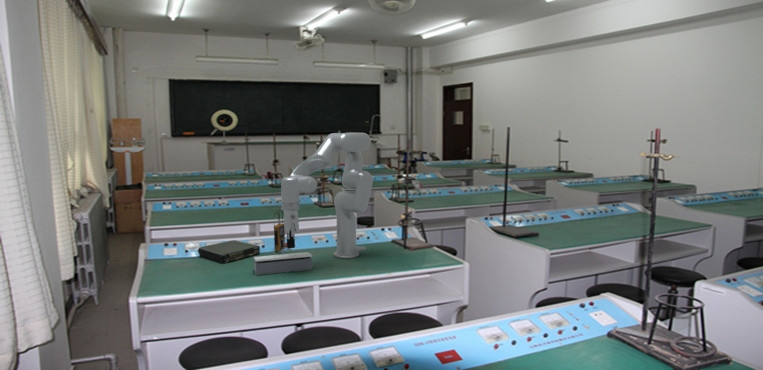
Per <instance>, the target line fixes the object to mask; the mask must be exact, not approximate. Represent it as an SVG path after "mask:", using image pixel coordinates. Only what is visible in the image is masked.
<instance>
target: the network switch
mask: <svg viewBox="0 0 763 370" xmlns="http://www.w3.org/2000/svg"><path fill="white" fill-rule="evenodd" d="M260 254H261V248H260V245H257V244H252V243H248V242H245V241H239V240H236V239H234V240H227V241H223V242H218V243H213V244H207V245H204V246H200V247H199V248H198V255H199V256H200V257H201V258H205V259H209V260H211V261H214V262H217V263H220V264H226V263H229V262H233V261H237V260H241V259H243V258H247V257H248V258H249V257H251V256H256V255H260Z"/></svg>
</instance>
